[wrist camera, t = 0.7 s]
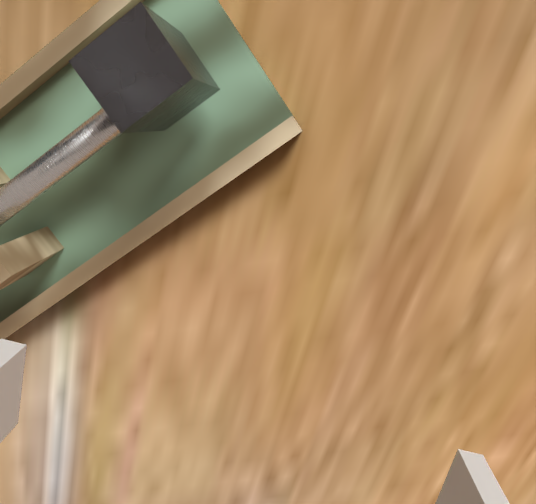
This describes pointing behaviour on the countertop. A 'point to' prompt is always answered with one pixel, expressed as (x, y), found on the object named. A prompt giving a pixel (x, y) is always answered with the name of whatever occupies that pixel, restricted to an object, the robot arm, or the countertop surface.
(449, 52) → the countertop surface
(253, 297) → the countertop surface
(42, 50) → the tray
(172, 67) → the hammer
